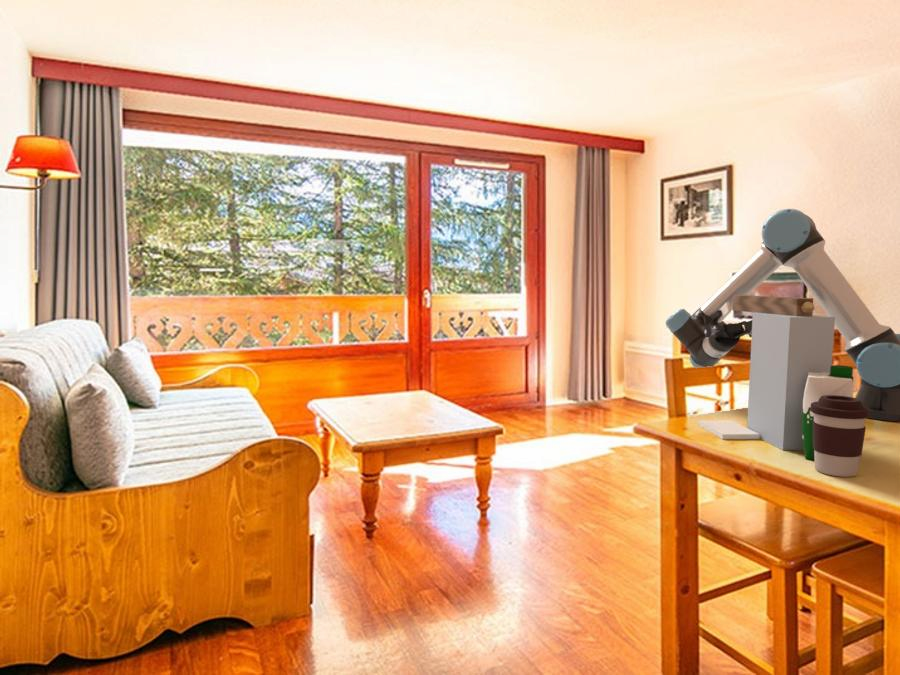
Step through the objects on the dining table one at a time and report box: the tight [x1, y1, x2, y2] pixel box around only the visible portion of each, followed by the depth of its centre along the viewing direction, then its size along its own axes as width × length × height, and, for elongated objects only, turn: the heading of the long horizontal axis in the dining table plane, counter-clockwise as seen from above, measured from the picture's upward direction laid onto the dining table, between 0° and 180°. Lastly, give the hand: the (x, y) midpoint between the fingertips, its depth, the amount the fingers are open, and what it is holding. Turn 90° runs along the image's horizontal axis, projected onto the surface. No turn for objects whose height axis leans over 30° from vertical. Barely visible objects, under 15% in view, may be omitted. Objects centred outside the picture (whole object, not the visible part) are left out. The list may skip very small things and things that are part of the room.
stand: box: [746, 312, 835, 451], centre depth 144 cm, size 16×10×30 cm, turn 1°
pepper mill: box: [732, 294, 815, 316], centre depth 148 cm, size 26×4×4 cm, turn 8°
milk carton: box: [802, 364, 854, 461], centre depth 131 cm, size 9×9×20 cm
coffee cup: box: [810, 395, 870, 478], centre depth 121 cm, size 10×10×15 cm
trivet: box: [697, 419, 761, 440], centre depth 153 cm, size 14×9×1 cm, turn 1°
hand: (754, 306), depth 158 cm, fingers open, 13 cm apart
